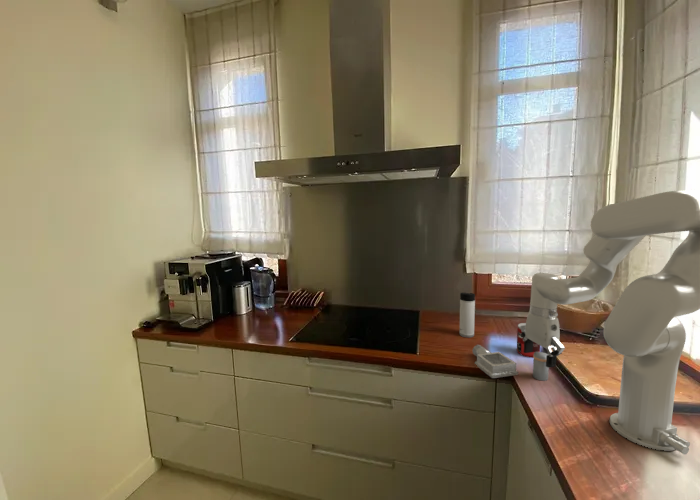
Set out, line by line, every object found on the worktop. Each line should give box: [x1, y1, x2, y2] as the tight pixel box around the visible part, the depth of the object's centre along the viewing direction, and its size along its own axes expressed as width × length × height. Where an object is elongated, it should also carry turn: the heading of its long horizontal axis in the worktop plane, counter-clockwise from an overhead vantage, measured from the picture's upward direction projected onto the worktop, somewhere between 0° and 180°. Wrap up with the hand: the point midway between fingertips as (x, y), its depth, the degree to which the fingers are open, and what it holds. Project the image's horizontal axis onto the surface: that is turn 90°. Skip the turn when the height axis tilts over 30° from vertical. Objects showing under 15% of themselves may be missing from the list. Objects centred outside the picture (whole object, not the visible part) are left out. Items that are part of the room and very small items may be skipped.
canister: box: [532, 351, 550, 382], centre depth 103 cm, size 5×5×8 cm
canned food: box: [516, 322, 541, 359], centre depth 120 cm, size 8×8×11 cm
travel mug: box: [459, 292, 476, 338], centre depth 139 cm, size 6×7×20 cm
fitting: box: [472, 344, 519, 379], centre depth 112 cm, size 16×10×4 cm, turn 11°
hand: (538, 359), depth 104 cm, fingers open, 9 cm apart
